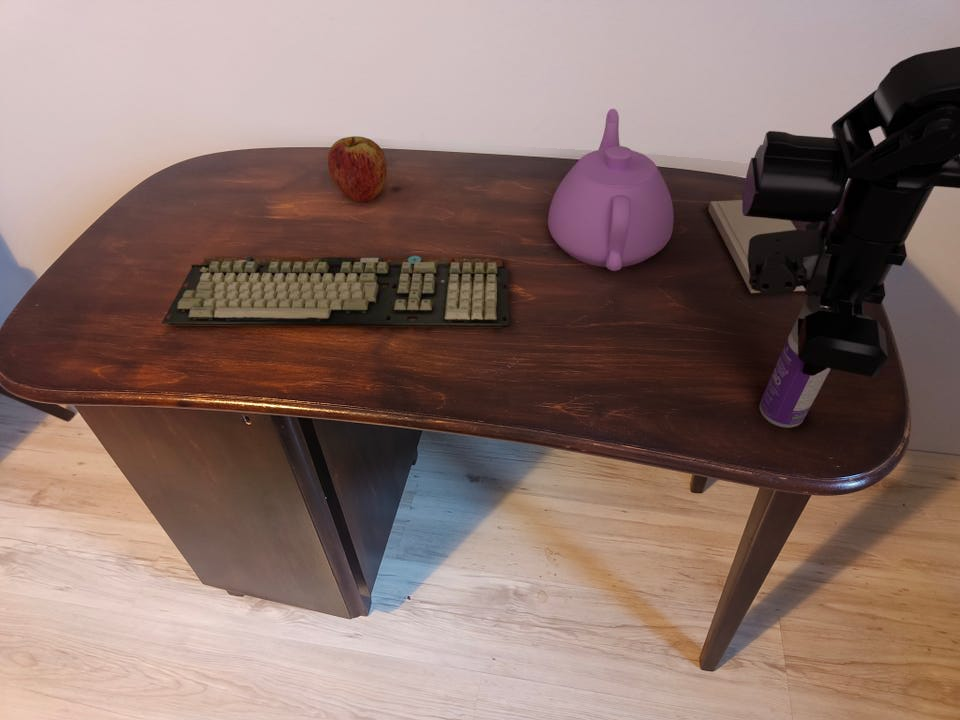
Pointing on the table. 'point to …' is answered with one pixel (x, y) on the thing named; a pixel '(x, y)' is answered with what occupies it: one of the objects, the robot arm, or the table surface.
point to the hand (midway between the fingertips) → (807, 356)
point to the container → (792, 380)
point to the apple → (357, 167)
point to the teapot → (612, 206)
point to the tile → (743, 232)
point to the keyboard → (343, 293)
